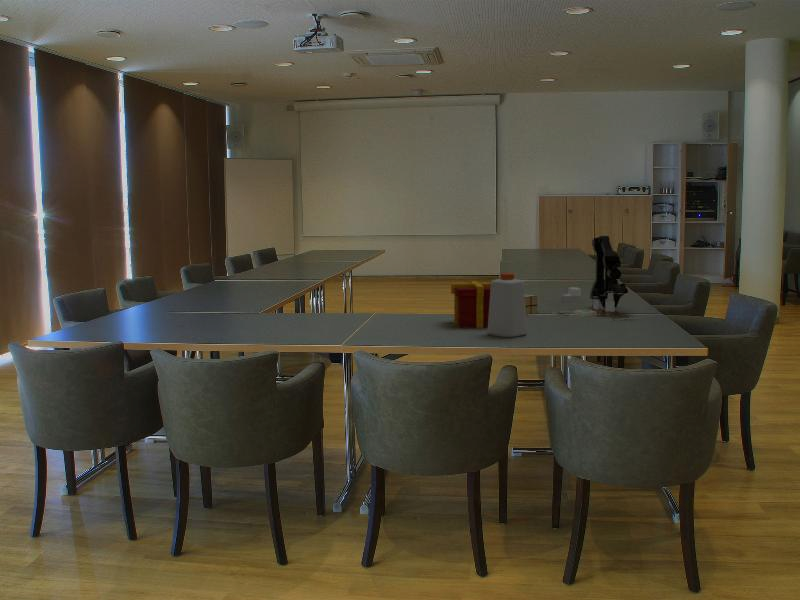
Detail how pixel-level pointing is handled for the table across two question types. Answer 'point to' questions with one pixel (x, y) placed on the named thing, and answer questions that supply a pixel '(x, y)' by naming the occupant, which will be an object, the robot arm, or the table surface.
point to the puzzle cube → (530, 304)
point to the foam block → (572, 295)
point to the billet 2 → (609, 306)
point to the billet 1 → (597, 305)
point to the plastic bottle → (507, 307)
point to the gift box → (471, 304)
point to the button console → (585, 313)
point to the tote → (561, 314)
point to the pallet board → (603, 313)
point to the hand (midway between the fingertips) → (609, 307)
